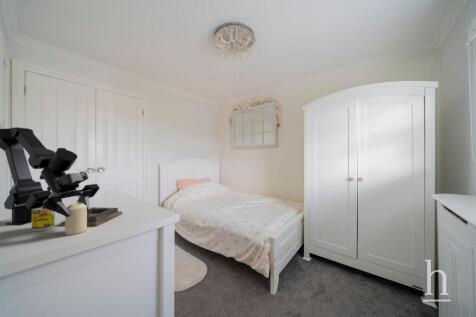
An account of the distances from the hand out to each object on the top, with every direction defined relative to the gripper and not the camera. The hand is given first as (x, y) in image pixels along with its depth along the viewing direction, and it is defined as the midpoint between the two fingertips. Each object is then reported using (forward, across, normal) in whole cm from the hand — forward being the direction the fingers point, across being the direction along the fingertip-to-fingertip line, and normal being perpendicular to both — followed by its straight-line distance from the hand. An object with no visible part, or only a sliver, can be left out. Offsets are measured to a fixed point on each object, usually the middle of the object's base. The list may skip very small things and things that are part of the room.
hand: (79, 213), depth 60 cm
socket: (-1, +11, +11) cm, 15 cm away
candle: (+4, 0, +6) cm, 7 cm away
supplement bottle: (-6, -2, +16) cm, 18 cm away
